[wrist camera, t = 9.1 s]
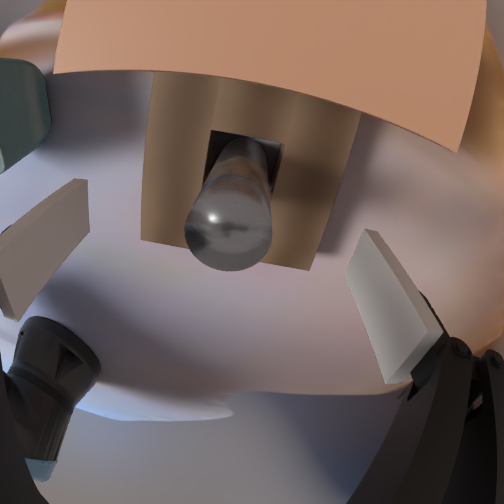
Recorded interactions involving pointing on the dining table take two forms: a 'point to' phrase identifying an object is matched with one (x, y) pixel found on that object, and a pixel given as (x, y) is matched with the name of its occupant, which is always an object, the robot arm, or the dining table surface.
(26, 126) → the flower pot
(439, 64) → the awning
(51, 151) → the dining table surface
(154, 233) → the socket block
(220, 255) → the peg
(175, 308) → the dining table surface
